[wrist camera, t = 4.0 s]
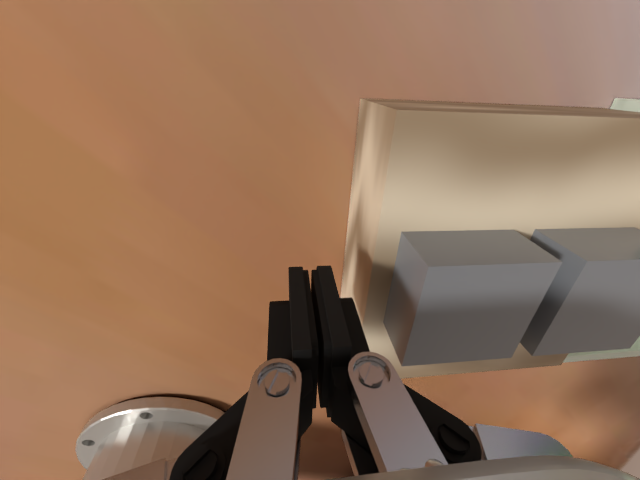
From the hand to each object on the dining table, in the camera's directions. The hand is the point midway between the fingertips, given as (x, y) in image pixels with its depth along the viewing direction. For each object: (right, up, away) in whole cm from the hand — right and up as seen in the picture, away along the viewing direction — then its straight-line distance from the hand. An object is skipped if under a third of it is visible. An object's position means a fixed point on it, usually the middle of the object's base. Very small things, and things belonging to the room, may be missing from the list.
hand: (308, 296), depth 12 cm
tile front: (+6, 0, +2) cm, 6 cm away
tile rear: (+12, +1, +2) cm, 12 cm away
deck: (+9, +3, +6) cm, 11 cm away
